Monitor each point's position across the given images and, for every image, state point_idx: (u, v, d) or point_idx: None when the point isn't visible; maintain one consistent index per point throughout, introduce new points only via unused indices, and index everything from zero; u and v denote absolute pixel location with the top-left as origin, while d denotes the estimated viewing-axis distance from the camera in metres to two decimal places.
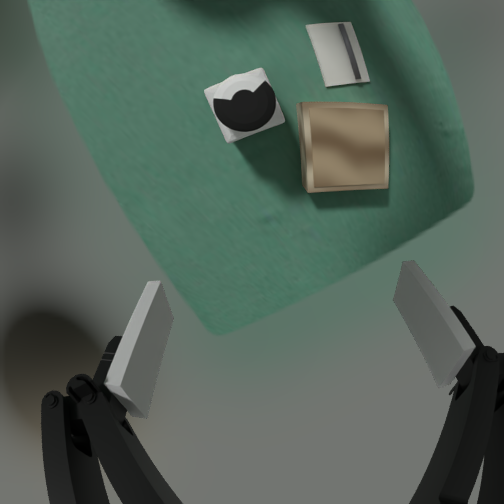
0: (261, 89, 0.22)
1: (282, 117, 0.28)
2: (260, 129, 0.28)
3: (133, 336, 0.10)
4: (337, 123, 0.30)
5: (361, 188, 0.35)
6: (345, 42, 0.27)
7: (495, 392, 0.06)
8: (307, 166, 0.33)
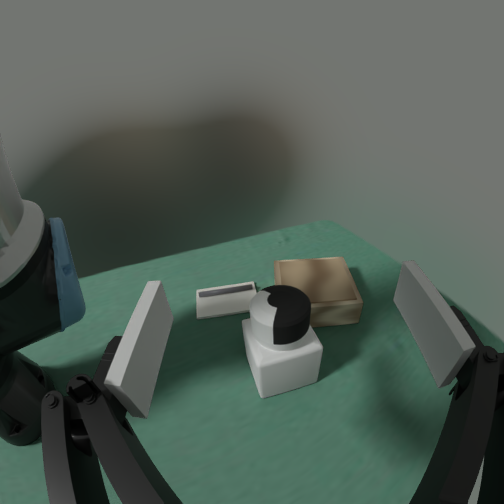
0: (268, 289, 0.27)
1: None
2: None
3: (133, 336, 0.10)
4: (296, 286, 0.39)
5: (348, 271, 0.42)
6: (217, 292, 0.45)
7: (495, 391, 0.06)
8: (339, 305, 0.36)
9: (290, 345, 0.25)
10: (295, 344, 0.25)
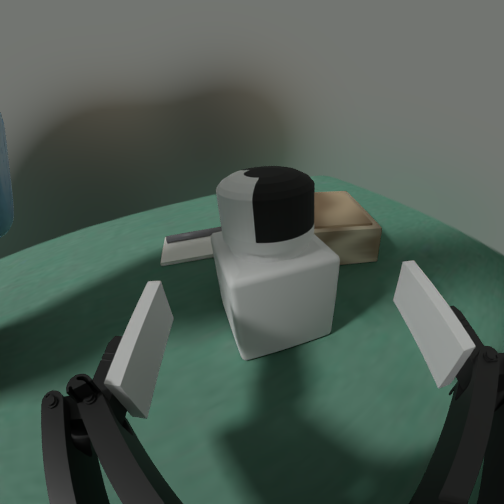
0: (246, 169, 0.18)
1: None
2: None
3: (133, 336, 0.10)
4: None
5: (355, 201, 0.32)
6: (189, 235, 0.35)
7: (495, 392, 0.06)
8: (350, 230, 0.26)
9: (285, 244, 0.15)
10: (294, 245, 0.16)
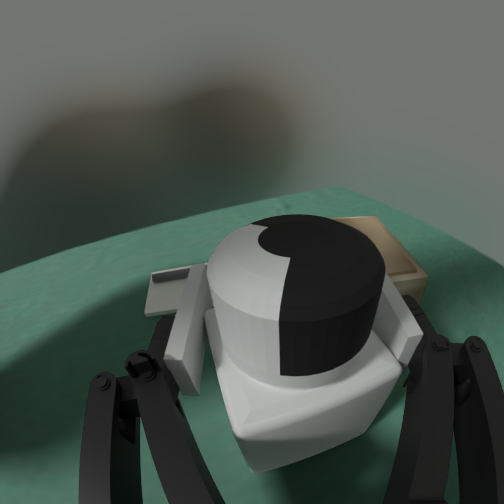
0: (260, 220, 0.10)
1: None
2: None
3: (187, 313, 0.11)
4: None
5: (390, 233, 0.25)
6: (181, 273, 0.27)
7: (451, 380, 0.07)
8: None
9: (330, 374, 0.08)
10: (343, 370, 0.08)
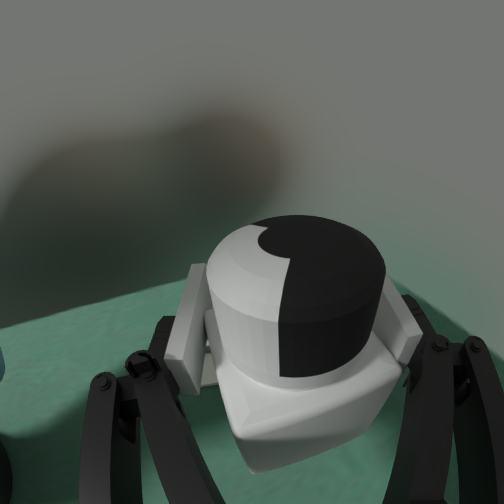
0: (260, 221, 0.10)
1: None
2: None
3: (187, 313, 0.11)
4: None
5: None
6: None
7: (451, 380, 0.07)
8: None
9: (329, 375, 0.08)
10: (342, 372, 0.08)
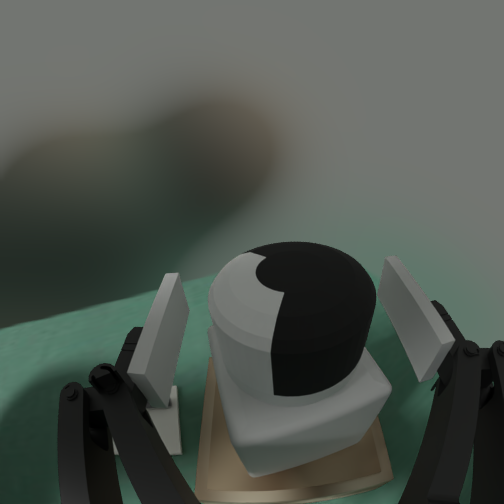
0: (260, 249, 0.11)
1: None
2: None
3: (155, 326, 0.11)
4: None
5: None
6: None
7: (478, 386, 0.06)
8: (338, 492, 0.10)
9: (320, 395, 0.08)
10: (332, 391, 0.09)
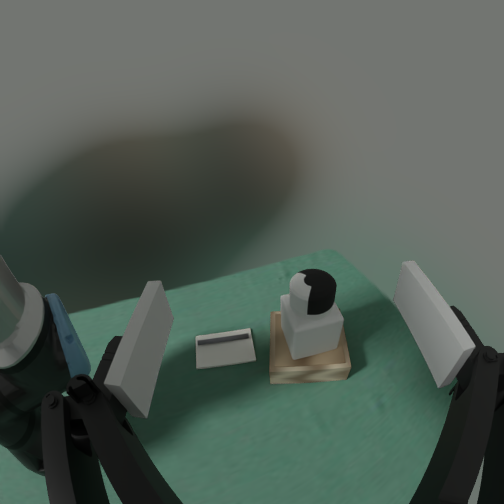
0: (304, 272, 0.35)
1: None
2: None
3: (133, 336, 0.10)
4: None
5: (342, 327, 0.42)
6: (215, 341, 0.46)
7: (495, 392, 0.06)
8: (327, 368, 0.36)
9: (319, 315, 0.33)
10: (323, 315, 0.34)
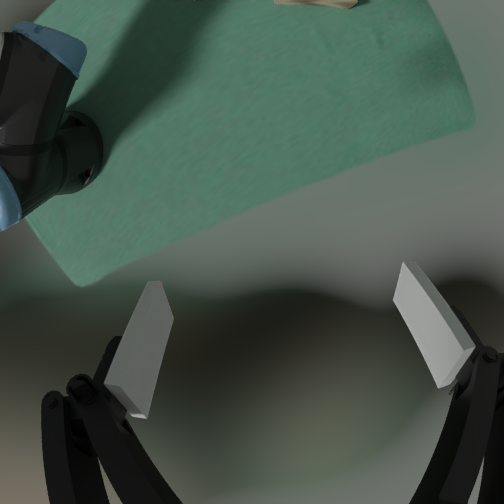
0: None
1: None
2: None
3: (133, 336, 0.10)
4: None
5: None
6: None
7: (495, 392, 0.06)
8: None
9: None
10: None
